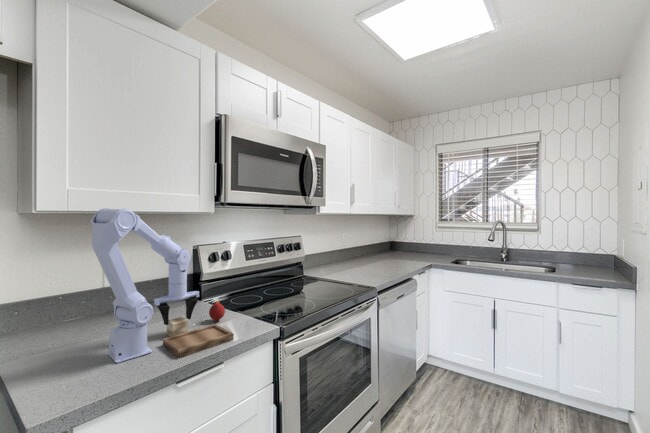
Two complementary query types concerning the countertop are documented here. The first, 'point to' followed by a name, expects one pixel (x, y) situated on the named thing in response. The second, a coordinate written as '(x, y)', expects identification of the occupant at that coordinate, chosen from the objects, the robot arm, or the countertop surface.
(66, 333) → the countertop surface
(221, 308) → the onion
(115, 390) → the countertop surface
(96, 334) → the countertop surface
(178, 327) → the cube
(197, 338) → the tray
